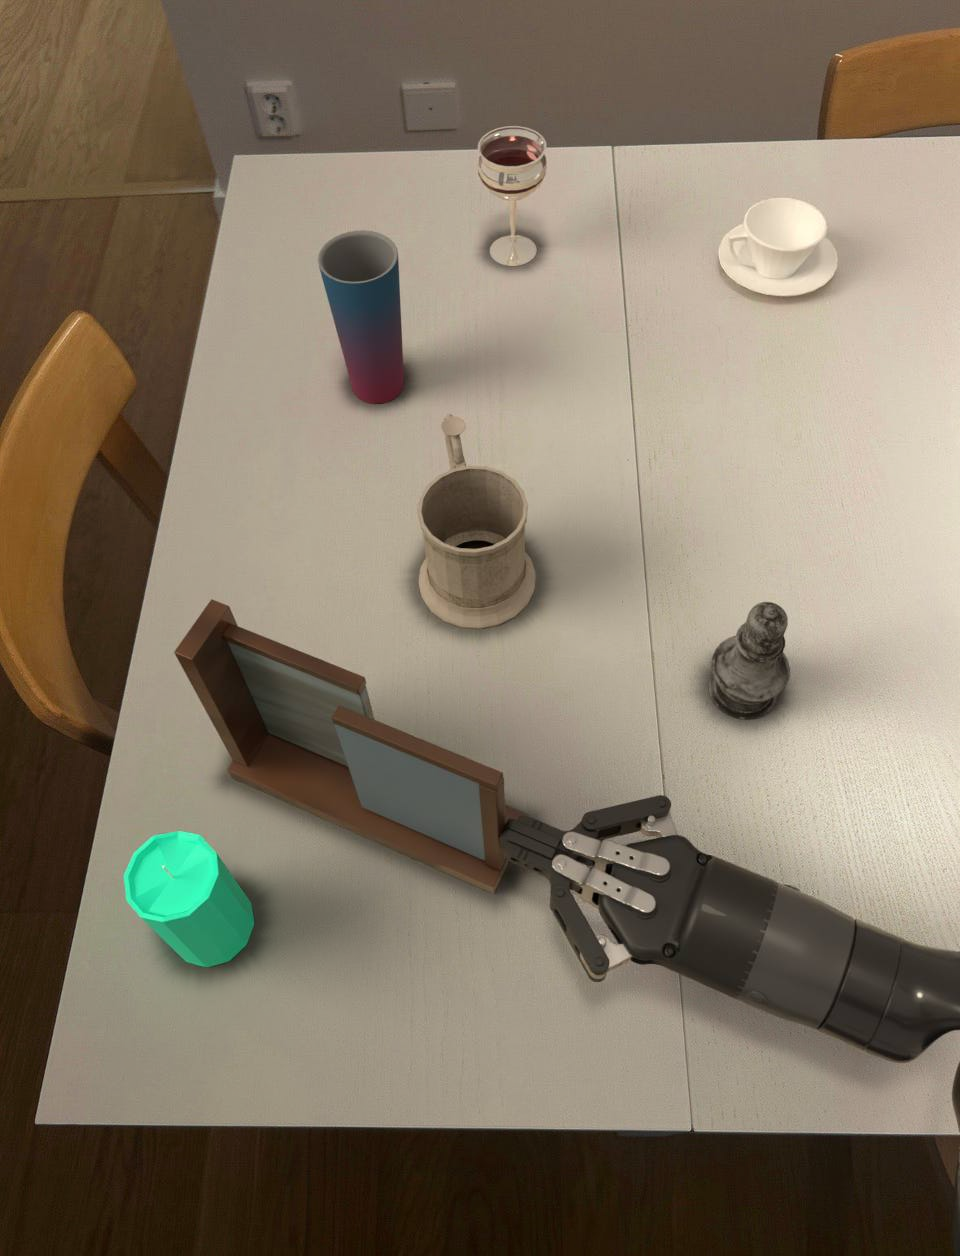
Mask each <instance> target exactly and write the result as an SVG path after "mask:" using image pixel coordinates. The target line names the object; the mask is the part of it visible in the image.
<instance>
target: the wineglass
mask: <svg viewBox="0 0 960 1256" xmlns="http://www.w3.org/2000/svg"><path fill="white" fill-rule="evenodd" d="M546 151H547V141H546V139H545V138H544V136H543V135H542V134H541V133H539V132H538V131H537V130H534V129H532V128H530V127H525V126H519V125H507V126H502V127H497V128H495V129H492V130H490V131H488V132H487V133H485V134H484V135H482V137H481V138H480V140H479V141H478V143H477V152H478V154H479V157H478V161H477V173H478V174H477V175H478V177H479V180H480V181H481V183H482V185H483V186H484V188H485V189H486V191H488V192H489V193H491V195H493V196H495V197H497V198H498V199H501V200H504V201H508V209H509V211H508V212H509V225H510V226H509V228H510V234H509V235H504V236H501V237H500V238H497V239H496V240H495V241H493V243H491V245H490V247H489V255H490V256H491V259H493V260H494V261H495V262H496V263H497V264H500V265H502V266H508V267H518V266H524V265H525V264H528V263H530V262H531V261H532V260H533V259H534V258H535V256H536V255H537V249H538V248H537V245H536V244H535V242H534V241H533V240H532V239H530V238H528V237H526V236H523V235H519V234H516V225H517V224H516V223H517V201H520V200H523V199H524V200H525V198H528V197H529V196H531V195H532V194H534V193H535V192H536V191H537V190H538V189H539V188H540V187H541V185H542V184H543V182H544V179H545V177H546V174H547V168H548V167H547V165H548V163H547V156H546V154H545V153H546Z"/></svg>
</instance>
